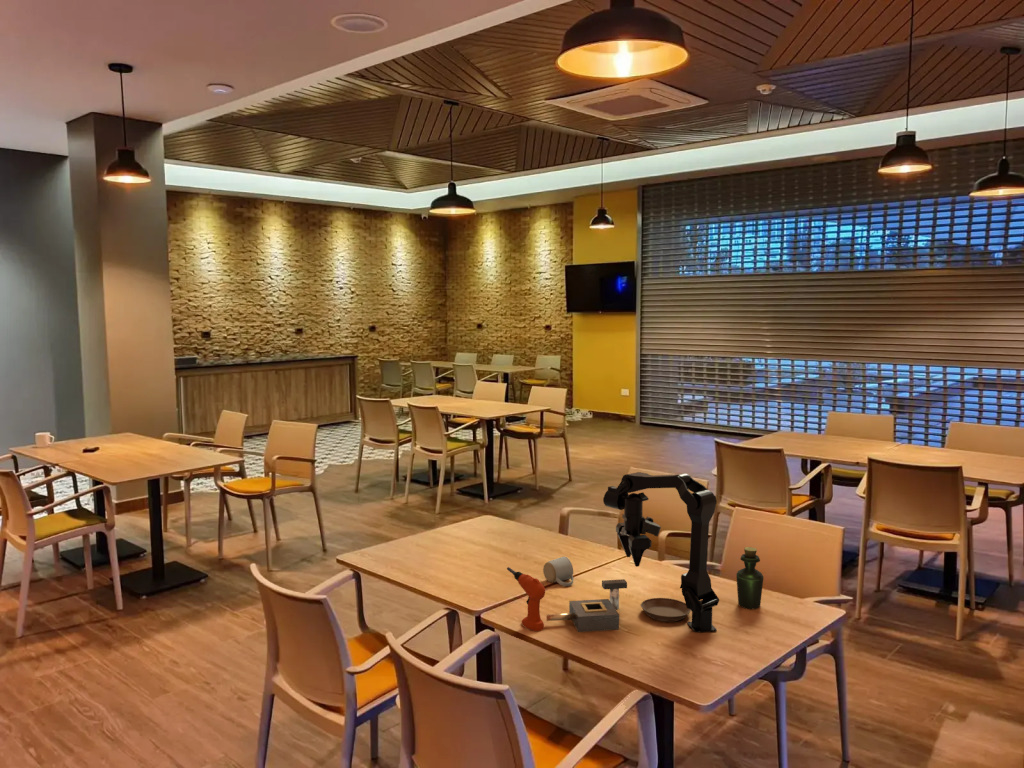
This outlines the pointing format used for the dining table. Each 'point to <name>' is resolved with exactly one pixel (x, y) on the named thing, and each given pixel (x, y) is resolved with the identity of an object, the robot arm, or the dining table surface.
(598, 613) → the block
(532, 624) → the toy drill
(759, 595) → the potion bottle
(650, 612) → the saucer
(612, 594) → the block
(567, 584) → the ceramic mug
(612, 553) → the dining table surface
